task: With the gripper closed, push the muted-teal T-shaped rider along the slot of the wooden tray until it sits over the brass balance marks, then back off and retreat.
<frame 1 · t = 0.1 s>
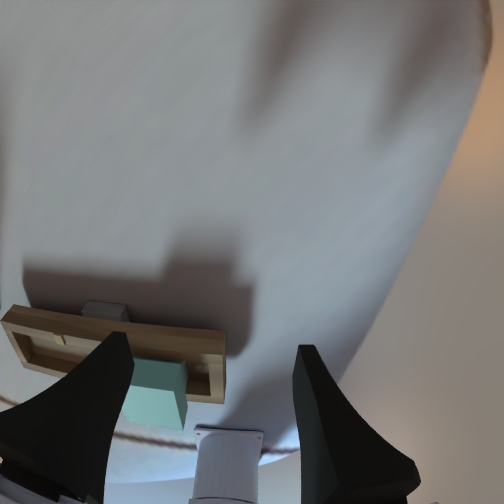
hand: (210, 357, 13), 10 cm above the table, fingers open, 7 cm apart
rider: (155, 384, 22), point 5 cm above the table, slide at -5.0 cm
wooden tray: (115, 334, 26), on the table
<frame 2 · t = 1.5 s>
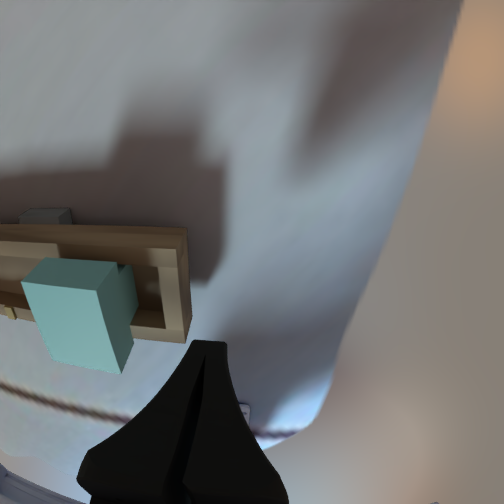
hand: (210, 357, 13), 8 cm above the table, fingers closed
rider: (88, 303, 15), point 5 cm above the table, slide at -5.0 cm
wooden tray: (58, 254, 20), on the table
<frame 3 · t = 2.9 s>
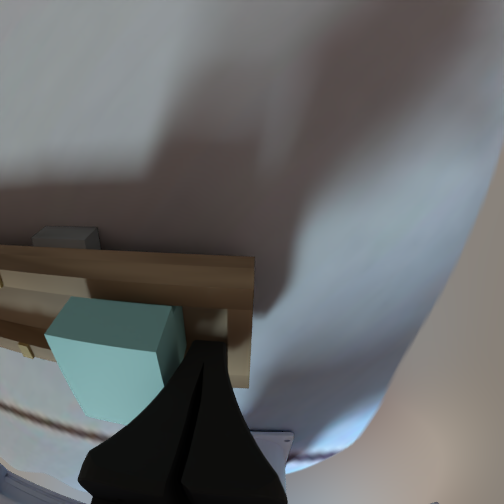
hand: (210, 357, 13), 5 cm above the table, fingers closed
rider: (129, 350, 13), point 5 cm above the table, slide at -4.8 cm, touching gripper
wooden tray: (82, 281, 17), on the table
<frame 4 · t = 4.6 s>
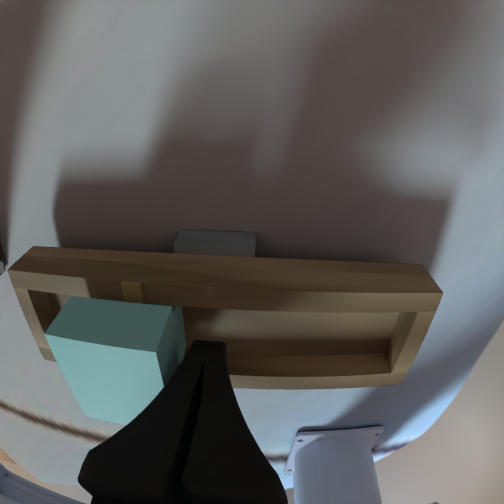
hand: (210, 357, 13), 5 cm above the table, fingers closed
rider: (129, 350, 13), point 5 cm above the table, slide at 3.4 cm, touching gripper
wooden tray: (218, 291, 17), on the table
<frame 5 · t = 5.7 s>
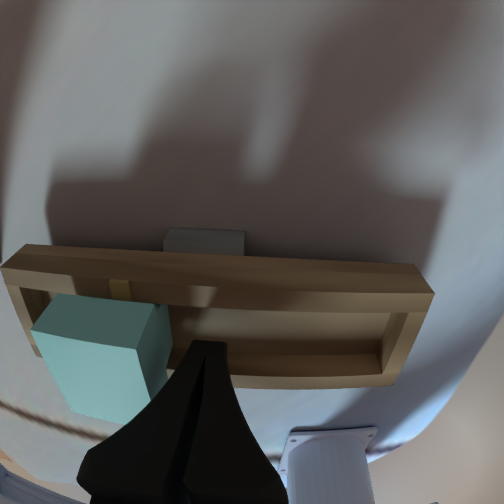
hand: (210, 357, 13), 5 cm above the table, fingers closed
rider: (114, 348, 13), point 5 cm above the table, slide at 3.5 cm
wooden tray: (208, 290, 17), on the table
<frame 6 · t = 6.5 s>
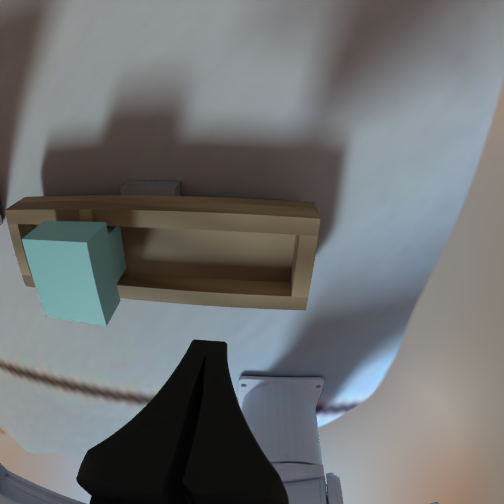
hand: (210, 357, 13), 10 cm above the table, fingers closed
rider: (80, 262, 17), point 5 cm above the table, slide at 3.5 cm
wooden tray: (156, 229, 21), on the table
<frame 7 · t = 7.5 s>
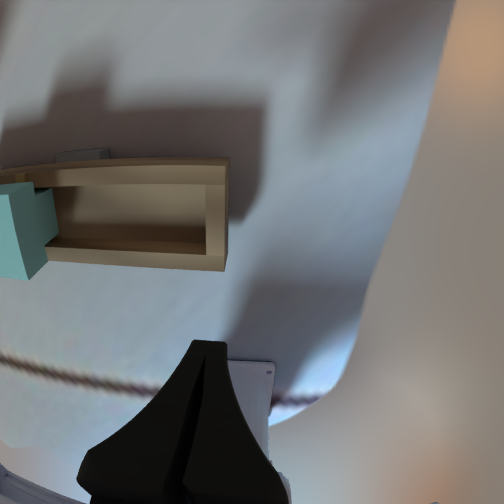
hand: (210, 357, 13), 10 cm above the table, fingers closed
rider: (15, 223, 16), point 5 cm above the table, slide at 3.5 cm
wooden tray: (91, 197, 20), on the table
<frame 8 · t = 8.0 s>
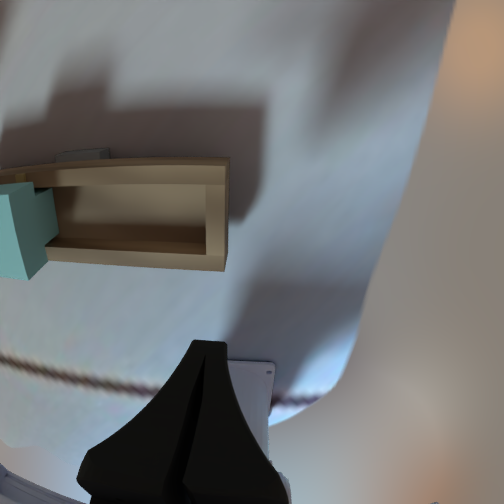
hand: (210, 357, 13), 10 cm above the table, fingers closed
rider: (15, 223, 16), point 5 cm above the table, slide at 3.5 cm
wooden tray: (91, 197, 20), on the table
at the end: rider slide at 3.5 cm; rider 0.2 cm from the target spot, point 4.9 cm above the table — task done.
